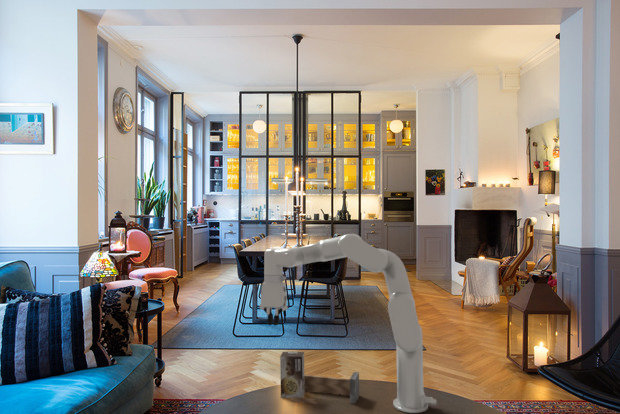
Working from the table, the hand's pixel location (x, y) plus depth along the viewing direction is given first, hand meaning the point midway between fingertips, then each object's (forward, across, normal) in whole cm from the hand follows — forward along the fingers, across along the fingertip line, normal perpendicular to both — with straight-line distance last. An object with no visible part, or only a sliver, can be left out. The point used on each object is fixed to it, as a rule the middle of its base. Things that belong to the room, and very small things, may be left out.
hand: (273, 324), depth 170 cm
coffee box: (+27, -8, 0) cm, 29 cm away
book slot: (+27, -20, 0) cm, 34 cm away
